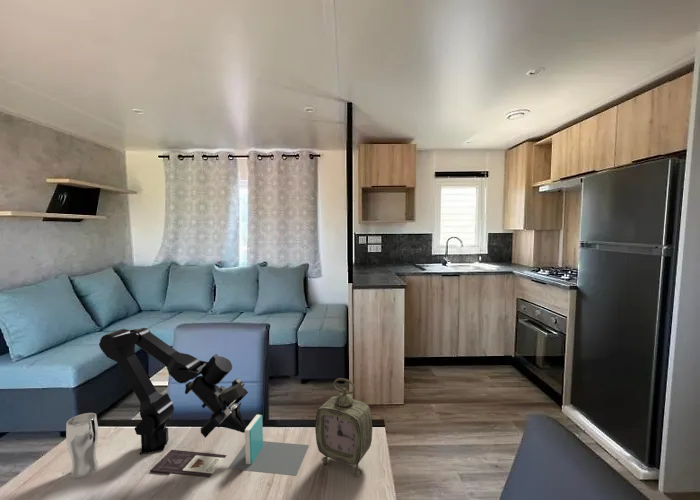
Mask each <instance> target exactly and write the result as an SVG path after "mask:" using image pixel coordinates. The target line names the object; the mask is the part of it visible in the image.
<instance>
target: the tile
mask: <svg viewBox="0 0 700 500" xmlns="http://www.w3.org/2000/svg"><path fill="white" fill-rule="evenodd" d="M246 427H247V428H246V429H245V433H244V445H245V452H246V464H252V463H253V462H254V460H255V458H256V457H257V455H258V454H259V452H260V451H261V449H262V447H263V441H264V433H263V431H264V430H263V427H264V426H263V414H256V415H255V416H254V417H253V419H252V420H251V421H250V422H249V424H248V425H246Z"/></svg>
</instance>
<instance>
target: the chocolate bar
mask: <svg viewBox="0 0 700 500" xmlns="http://www.w3.org/2000/svg"><path fill="white" fill-rule="evenodd" d="M226 457H227V454H220V453H219V454H218V453H209V452H202V451H201V452H199V451H188V450H181V449H180V450H178V449H177V450H176V449H170V451H168V452H167V454H165V455H164V456H163V457H162V458H161V459H160V460H159V461H158V462H157V463H156V464H155V465H154V466H153V467H152V468H151V469H150V470H149V473H151V474H152V473H153V474H161V475H170V474H173V475H174V474H175V475H182V476H183V475H185V476H193V477H204V478H211V476H212V475H213V474H214V472H215V471H216V470H217V469H218V467H219V466H220V465H221V464H222V463H223V461H224V460H225V458H226Z"/></svg>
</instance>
